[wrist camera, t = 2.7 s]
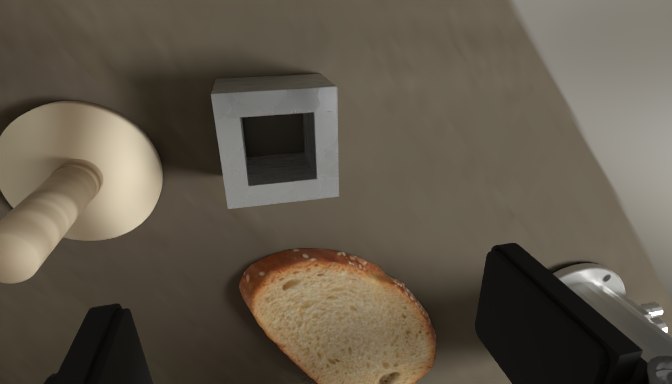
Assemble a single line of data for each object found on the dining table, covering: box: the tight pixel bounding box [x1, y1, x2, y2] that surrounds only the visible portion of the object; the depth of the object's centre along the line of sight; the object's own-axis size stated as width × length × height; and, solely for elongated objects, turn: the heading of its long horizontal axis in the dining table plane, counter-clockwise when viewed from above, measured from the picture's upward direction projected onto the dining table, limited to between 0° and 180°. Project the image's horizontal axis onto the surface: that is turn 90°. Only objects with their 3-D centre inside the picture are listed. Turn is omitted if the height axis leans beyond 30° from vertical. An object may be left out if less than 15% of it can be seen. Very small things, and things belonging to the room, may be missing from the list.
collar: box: [211, 73, 339, 209], centre depth 25 cm, size 7×7×5 cm
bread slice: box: [239, 248, 436, 384], centre depth 34 cm, size 18×18×4 cm
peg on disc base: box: [0, 101, 163, 283], centre depth 21 cm, size 9×9×10 cm
